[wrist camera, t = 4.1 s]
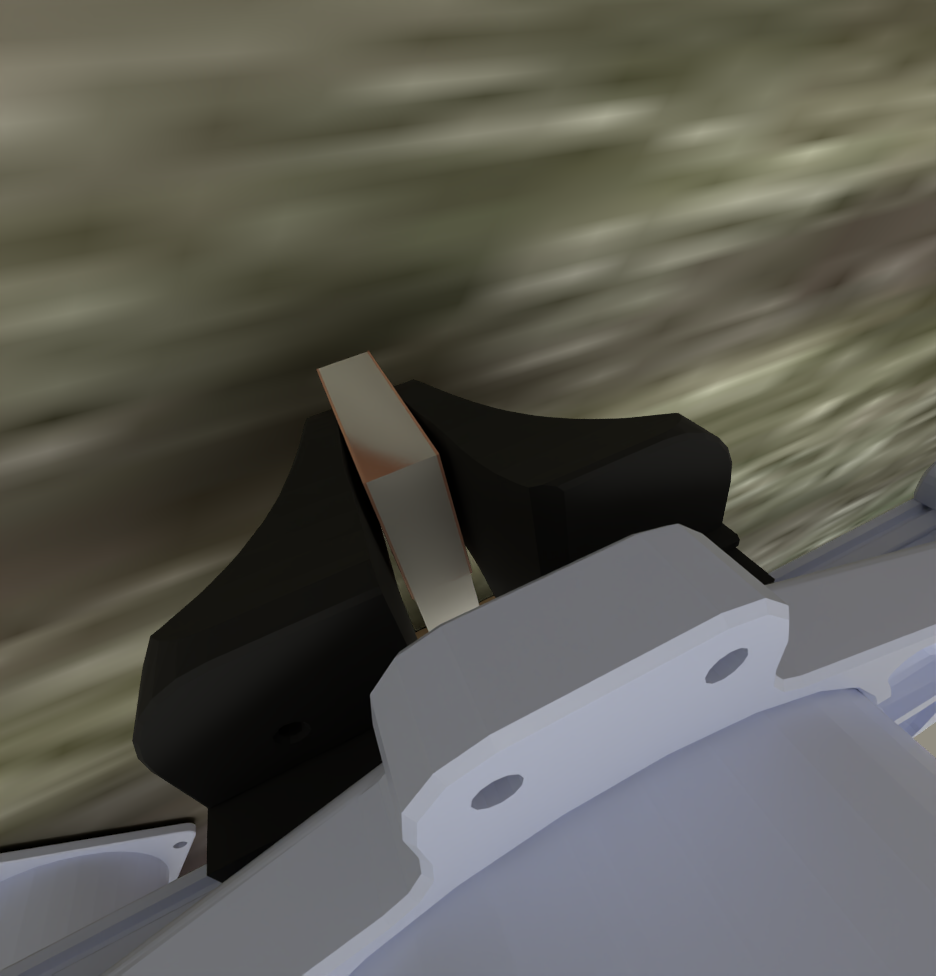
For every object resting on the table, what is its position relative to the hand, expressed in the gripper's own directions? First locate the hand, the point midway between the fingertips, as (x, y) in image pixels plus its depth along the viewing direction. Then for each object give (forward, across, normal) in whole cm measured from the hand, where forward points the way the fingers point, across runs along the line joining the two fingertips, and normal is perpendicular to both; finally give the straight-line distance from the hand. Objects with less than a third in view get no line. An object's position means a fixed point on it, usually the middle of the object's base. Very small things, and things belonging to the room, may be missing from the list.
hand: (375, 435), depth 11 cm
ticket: (+1, 0, +8) cm, 8 cm away
